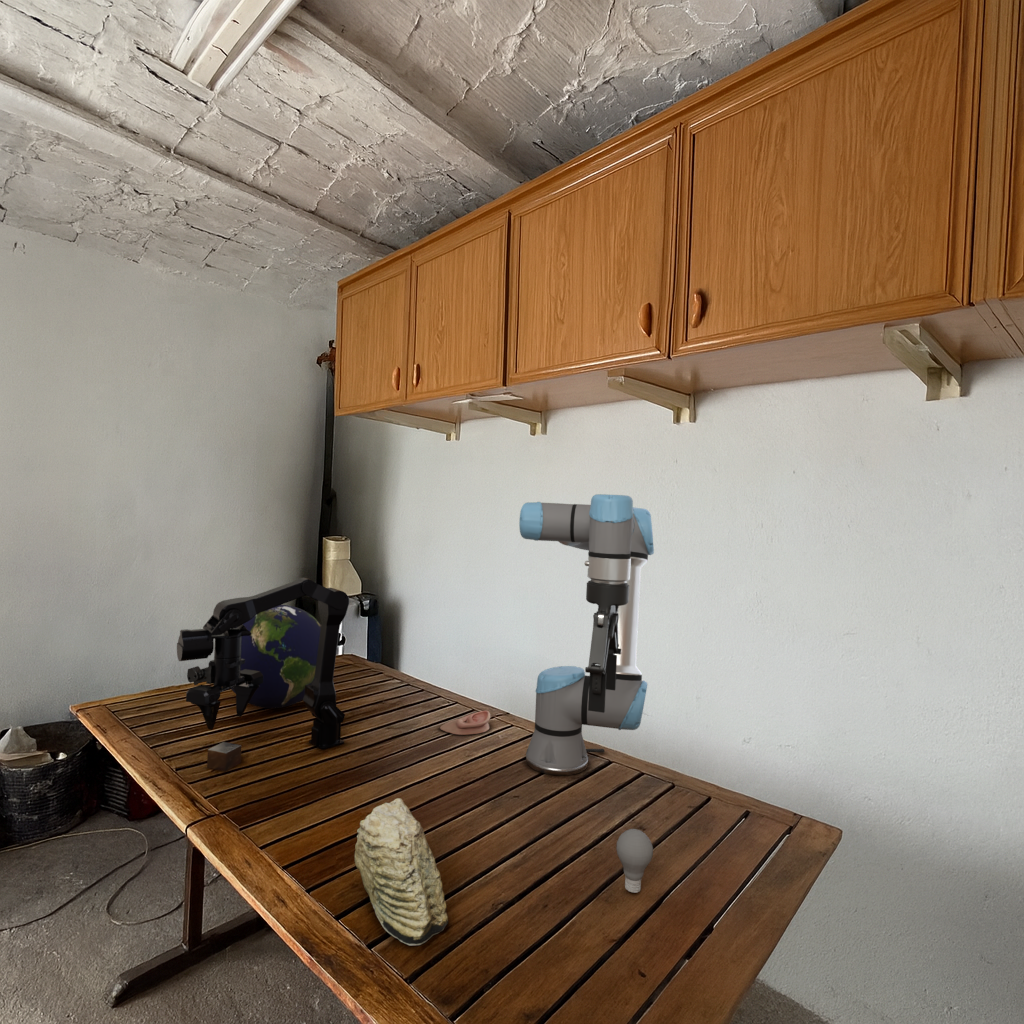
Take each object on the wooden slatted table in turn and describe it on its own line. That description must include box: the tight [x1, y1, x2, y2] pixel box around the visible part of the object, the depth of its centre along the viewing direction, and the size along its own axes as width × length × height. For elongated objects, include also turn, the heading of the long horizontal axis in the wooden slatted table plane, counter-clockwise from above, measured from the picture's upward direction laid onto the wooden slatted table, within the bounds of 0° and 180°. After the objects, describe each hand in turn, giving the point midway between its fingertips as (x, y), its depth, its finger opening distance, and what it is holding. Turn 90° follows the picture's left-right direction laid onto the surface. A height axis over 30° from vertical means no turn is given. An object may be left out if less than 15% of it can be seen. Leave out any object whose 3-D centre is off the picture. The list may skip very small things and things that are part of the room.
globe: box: [231, 604, 321, 709], centre depth 188 cm, size 30×30×30 cm
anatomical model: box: [439, 709, 491, 736], centre depth 177 cm, size 13×4×12 cm
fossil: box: [354, 797, 449, 947], centre depth 98 cm, size 9×18×15 cm, turn 46°
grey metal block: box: [206, 741, 242, 772], centre depth 147 cm, size 5×5×4 cm
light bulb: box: [615, 828, 654, 894], centre depth 106 cm, size 6×6×10 cm
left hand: (225, 722), depth 147 cm, fingers open, 9 cm apart
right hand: (602, 699), depth 113 cm, fingers open, 13 cm apart
